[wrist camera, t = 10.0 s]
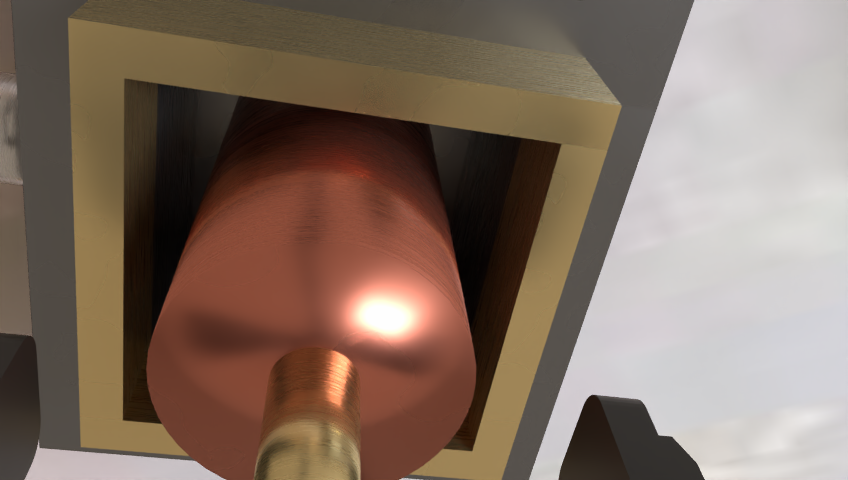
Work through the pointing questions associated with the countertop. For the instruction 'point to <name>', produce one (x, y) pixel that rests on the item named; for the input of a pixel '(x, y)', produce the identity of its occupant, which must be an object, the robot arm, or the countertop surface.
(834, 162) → the countertop surface
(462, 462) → the grey drawer box
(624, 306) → the countertop surface
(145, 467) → the countertop surface
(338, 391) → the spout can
